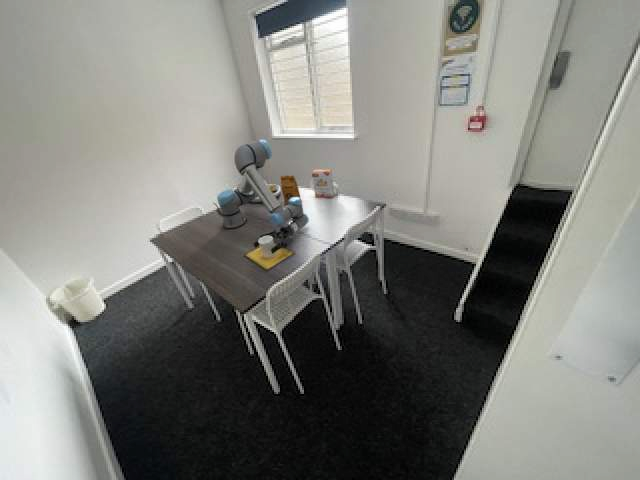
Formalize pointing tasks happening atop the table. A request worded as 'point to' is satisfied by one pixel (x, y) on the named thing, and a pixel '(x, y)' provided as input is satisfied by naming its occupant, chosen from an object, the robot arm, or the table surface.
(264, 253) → the white cup
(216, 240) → the table surface
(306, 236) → the table surface
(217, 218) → the table surface
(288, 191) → the coffee package
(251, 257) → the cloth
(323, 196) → the cracker box
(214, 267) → the table surface
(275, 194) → the bowl
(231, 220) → the robot arm
